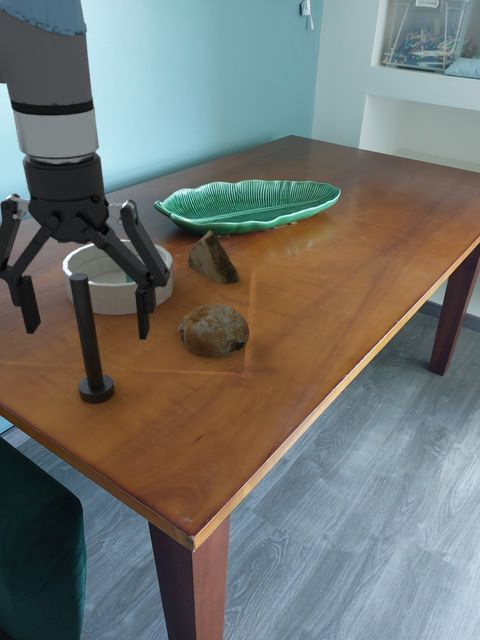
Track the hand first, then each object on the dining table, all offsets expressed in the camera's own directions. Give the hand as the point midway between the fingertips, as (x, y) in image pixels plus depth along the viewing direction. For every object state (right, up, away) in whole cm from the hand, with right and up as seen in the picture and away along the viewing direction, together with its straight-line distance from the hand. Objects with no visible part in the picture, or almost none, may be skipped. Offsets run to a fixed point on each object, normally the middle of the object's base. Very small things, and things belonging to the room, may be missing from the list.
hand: (89, 331), depth 66 cm
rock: (+12, +11, +33) cm, 37 cm away
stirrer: (0, -8, +4) cm, 9 cm away
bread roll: (+14, -1, +15) cm, 21 cm away
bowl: (-3, +8, +26) cm, 28 cm away
